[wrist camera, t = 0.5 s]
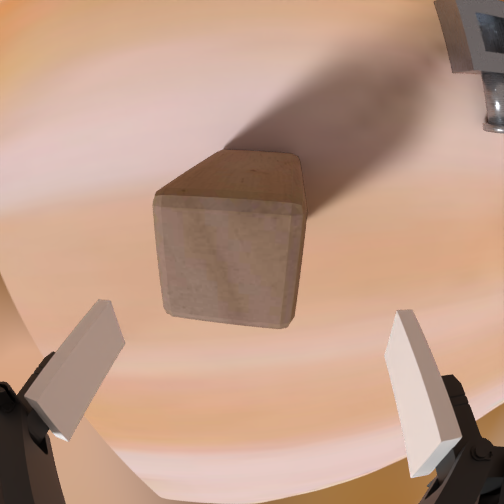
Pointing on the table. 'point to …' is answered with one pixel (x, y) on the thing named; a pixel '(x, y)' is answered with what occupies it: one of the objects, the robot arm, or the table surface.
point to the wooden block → (233, 239)
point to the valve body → (477, 48)
